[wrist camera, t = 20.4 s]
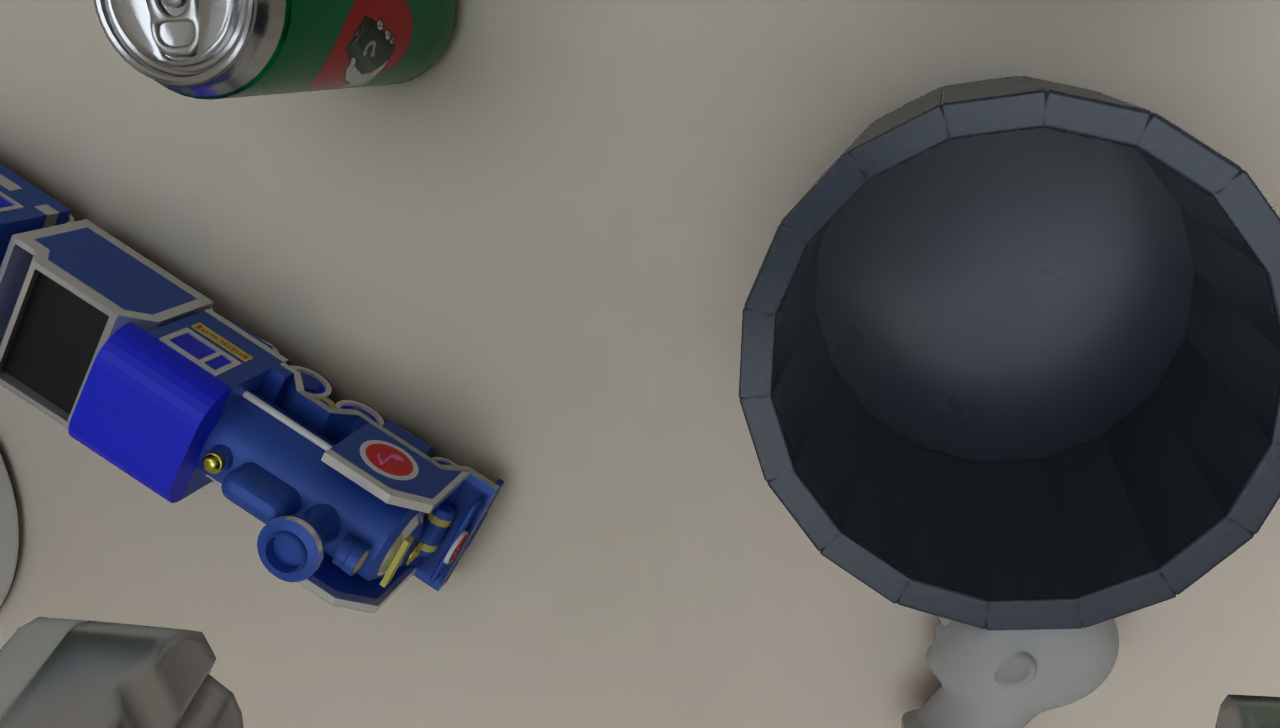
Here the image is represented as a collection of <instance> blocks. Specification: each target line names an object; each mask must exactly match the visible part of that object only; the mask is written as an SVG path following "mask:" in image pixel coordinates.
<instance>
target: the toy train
mask: <svg viewBox="0 0 1280 728" xmlns="http://www.w3.org/2000/svg"><path fill="white" fill-rule="evenodd" d="M70 213H71V209H69V208H67V207H66V206H64V205H63V204H61V203H60V202H58V201H57V200H55V199H54V198H52V197H51V196H49V195H47V194H46V193H44V192H43V191H41V190H40V189H38V188H37V187H35V186H34V185H32V184H30V183H29V182H27V181H26V180H24V179H23V178H21V177H20V176H18V175H17V174H15V173H14V172H12V171H10V170H9V169H7V168H6V167H4V166H3V165H1V164H0V385H2V386H3V387H5V388H6V389H8V390H10V391H11V392H13V393H14V394H16V395H17V396H19V397H20V398H22V399H23V400H25V401H26V402H28V403H30V404H31V405H33V406H34V407H36V408H37V409H39V410H40V411H42V412H43V413H45V414H46V415H48V416H49V417H51V418H53V419H54V420H56V421H57V422H59V423H60V424H62V425H63V426H65V427H66V428H68V430H69V434H70V435H71V437H73V438H74V439H76V440H77V441H79V442H80V443H82V444H83V445H85V446H86V447H88V448H89V449H91V450H92V451H94V452H95V453H97V454H98V455H100V456H101V457H103V458H104V459H106V460H107V461H109V462H110V463H112V464H113V465H115V466H116V467H118V468H119V469H121V470H123V471H124V472H126V473H127V474H129V475H130V476H132V477H133V478H135V479H136V480H138V481H139V482H141V483H142V484H144V485H145V486H147V487H148V488H150V489H151V490H153V491H154V492H156V493H157V494H159V495H160V496H162V497H163V498H165V499H166V500H168V501H169V502H171V503H175V502H178V501H180V500H182V499H183V498H185V497H187V496H188V495H190V494H192V493H193V492H195V491H197V490H198V489H200V488H201V487H203V486H205V485H206V484H208V483H210V482H212V481H214V482H216V483H217V484H219V485H220V486H222V492H223V494H224V496H225V497H226V498H227V499H229V500H230V501H232V502H233V503H235V504H236V505H238V506H239V507H241V508H242V509H244V510H245V511H247V512H248V513H250V514H251V515H253V516H254V517H256V518H257V519H259V520H260V521H262V522H263V523H265V524H267V525H266V526H264V527H263V529H262V530H261V532H260V534H259V537H258V542H257V546H258V553H259V556H260V559H261V561H262V563H263V564H264V566H265V567H266V568H267V569H268V571H269V572H270V573H272V574H273V575H274V576H276V577H277V578H279V579H281V580H284V581H288V582H297V583H299V584H300V585H302V586H303V587H305V588H306V589H308V590H309V591H311V592H312V593H314V594H315V595H317V596H318V597H320V598H321V599H323V600H324V601H326V602H327V603H329V604H330V605H332V606H337V607H342V608H347V609H353V610H358V611H363V612H368V613H375V612H376V611H377V610H378V609H379V608H380V607H381V606H382V605H383V604H384V603H385V602H386V601H387V600H388V599H389V598H390V597H391V596H392V595H393V594H394V593H395V592H396V591H397V590H398V589H399V588H400V587H401V586H402V585H403V584H404V583H405V581H406V580H407V579H408V578H409V577H410V576H411V575H412V574H413V575H414V576H416V577H417V578H419V579H420V580H422V581H423V582H425V583H426V584H428V585H429V586H431V587H432V588H434V589H435V590H437V591H439V590H440V589H441V587H442V586H443V585H444V584H445V583H446V582H447V580H448V579H449V577H450V575H451V573H452V572H453V570H454V568H455V566H456V565H457V563H458V561H459V559H460V558H461V556H462V554H463V553H464V551H465V550H466V549H467V547H468V546H469V544H470V543H471V541H472V539H473V538H474V536H475V534H476V532H477V531H478V529H479V527H480V525H481V524H482V522H483V520H484V518H485V517H486V515H487V511H488V509H489V507H490V506H491V504H492V502H493V501H494V499H495V497H496V495H497V494H498V492H499V490H500V488H501V487H502V485H503V483H504V481H502V480H500V479H499V480H498V481H497V482H496V483H493V482H492V481H490V480H489V479H487V478H486V477H484V476H483V475H481V474H480V473H478V472H476V471H475V470H473V469H472V468H470V467H468V466H458V465H457V464H455V463H454V462H452V461H450V460H448V459H445V458H442V457H432V458H430V457H429V456H430V454H431V452H432V449H433V447H431V446H430V445H428V444H427V443H425V442H424V441H422V440H420V439H419V438H417V437H416V436H414V435H413V434H411V433H410V432H408V431H407V430H405V429H403V428H402V427H400V426H399V425H397V424H396V423H394V422H393V421H391V420H389V421H387V422H386V423H384V420H383V419H382V417H381V416H380V415H379V414H378V413H377V412H376V411H375V410H373V409H372V408H370V407H369V406H367V405H365V404H363V403H360V402H357V401H353V400H341V401H338V402H337V403H336V404H334V402H333V401H332V400H330V399H329V396H330V394H331V392H332V388H331V386H330V384H329V382H328V381H327V380H326V379H325V378H324V377H322V376H321V375H320V374H318V373H316V372H315V371H312V370H310V369H307V368H304V367H301V366H289V365H287V362H288V359H286V358H285V357H283V356H282V355H280V354H279V351H278V350H277V349H276V347H274V346H273V345H272V344H270V343H269V342H267V341H265V340H262V339H260V338H258V337H257V336H255V335H254V334H252V333H250V332H249V331H247V330H246V329H244V328H243V327H241V326H240V325H238V324H237V323H235V322H233V323H231V322H229V321H228V320H226V319H225V318H223V317H222V316H220V315H219V314H217V313H216V312H214V311H213V308H212V305H213V303H214V302H213V301H211V300H210V299H208V298H207V297H205V296H204V295H202V294H201V293H199V292H198V291H196V290H194V289H193V288H191V287H190V286H188V285H187V284H185V283H184V282H182V281H181V280H179V279H177V278H176V277H174V276H173V275H171V274H170V273H168V272H167V271H165V270H164V269H162V268H161V267H159V266H157V265H156V264H154V263H153V262H151V261H150V260H148V259H147V258H145V257H144V256H142V255H140V254H139V253H137V252H136V251H134V250H133V249H131V248H130V247H128V246H127V245H125V244H124V243H122V242H120V241H119V240H117V239H116V238H114V237H113V236H111V235H110V234H108V233H107V232H105V231H103V230H102V229H100V228H99V227H97V226H96V225H94V224H93V223H91V222H90V221H88V220H87V219H84V220H79V221H75V222H74V218H73V216H72V215H71V214H70Z"/></svg>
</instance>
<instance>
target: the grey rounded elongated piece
mask: <svg viewBox="0 0 1280 728" xmlns="http://www.w3.org/2000/svg"><path fill="white" fill-rule="evenodd" d="M938 618H939V620H940V621H939V623H938V624H937V625H936V629H935V632H936V635H935V637H934V640H933V644H932V645H931V646H930V647H929V648H928V650H927V652H926V661H927V663H928V665H929V667H930V668H931V670H932V671H933V673H934V674H935V675H936V677H937V678H938V679H939V681H940V682H941V684H942V686H941V687H940V688H939V689H938V690H937V691H936V692H935V693H934V694H933V695H932V697H931V698H930V699H929V700H928V701H927V703H926V704H925V705H924V706H923V707H922V708H921V709H917V710H912V711H908V712H906V713H905V714H904V715H903V716H902V728H1023V727H1024V726H1025V725H1026V724H1027V723H1028V722H1029V721H1030V720H1031V719H1032V718H1033V717H1034V716H1036V715H1037V714H1039V713H1041V712H1043V711H1046V710H1050V709H1053V708H1057V707H1061V706H1065V705H1068V704H1070V703H1073V702H1075V701H1078V700H1080V699H1082V698H1083V697H1085V696H1087V695H1088V694H1090V693H1091V692H1093V691H1094V690H1095V689H1096V688H1098V687H1099V686H1100V685H1101V684H1102V683H1103V682H1104V680H1105V679H1106V678H1107V676H1108V675H1109V673H1110V672H1111V670H1112V668H1113V666H1114V663H1115V661H1116V658H1117V654H1118V648H1119V636H1118V630H1117V627H1116V623H1115V621H1114V618H1113V619H1110V620H1107V621H1104V622H1101V623H1098V624H1095V625H1092V626H1089V627H1086V628H1084V627H1083V628H1081V629H1039V630H992V631H988V630H987V629H986V628H985V629H981V628H978V627H974V626H971V625H967V624H964V623H960V622H957V621H953V620H950V619H947V618H943V617H940V616H938Z"/></svg>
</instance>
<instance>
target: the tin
mask: <svg viewBox="0 0 1280 728" xmlns="http://www.w3.org/2000/svg"><path fill="white" fill-rule="evenodd" d="M739 397H740V403H741V406H742V409H743V412H744V416H745V419H746V422H747V425H748V428H749V431H750V434H751V438H752V441H753V444H754V447H755V450H756V453H757V456H758V460H759V463H760V466H761V469H762V472H763V475H764V479H765V480H766V481H767V483H768V485H769V487H770V488H771V489H772V490H773V492H774V493H775V494H776V496H777V497H778V498H779V500H780V501H781V502H782V504H783V505H784V506H785V508H786V509H787V510H788V511H789V513H790V514H791V515H792V517H793V518H794V519H795V521H796V522H797V523H798V525H799V526H800V527H801V529H802V530H803V531H804V533H805V534H806V535H807V536H808V538H809V539H810V540H811V542H812V543H813V544H814V546H815V547H816V548H817V550H819V551H821V552H820V553H821V554H822V555H823V556H825V557H826V558H828V559H829V560H831V561H832V562H834V563H835V564H836V565H838V566H839V567H841V568H842V569H844V570H845V571H847V572H848V573H850V574H851V575H853V576H854V577H856V578H857V579H859V580H860V581H862V582H863V583H865V584H866V585H868V586H869V587H870V588H872V589H873V590H875V591H876V592H878V593H879V594H881V595H882V596H884V597H885V598H887V599H888V600H890V601H891V602H893V603H897V604H899V605H902V606H905V607H909V608H912V609H916V610H919V611H923V612H926V613H929V614H933V615H936V616H940V617H943V618H947V619H950V620H953V621H957V622H960V623H964V624H967V625H971V626H974V627H978V628H981V629H985V628H986V629H987V630H988V631H992V630H1039V629H1081V628H1083V627H1084V628H1086V627H1089V626H1092V625H1095V624H1098V623H1101V622H1104V621H1107V620H1110V619H1113V618H1116V617H1119V616H1121V615H1124V614H1127V613H1130V612H1133V611H1136V610H1139V609H1142V608H1145V607H1148V606H1151V605H1154V604H1156V603H1159V602H1162V601H1165V600H1168V599H1171V598H1174V597H1176V594H1177V595H1178V594H1180V593H1181V592H1182V591H1184V590H1185V589H1186V588H1188V587H1189V586H1190V585H1192V584H1193V583H1194V582H1195V581H1197V580H1198V579H1199V578H1201V577H1202V576H1203V575H1205V574H1206V573H1207V572H1209V571H1210V570H1211V569H1212V568H1214V567H1215V566H1216V565H1218V564H1219V563H1220V562H1222V561H1223V560H1224V559H1225V558H1227V557H1228V556H1229V555H1231V554H1232V553H1233V552H1235V551H1236V550H1237V549H1238V548H1240V547H1241V546H1242V545H1244V544H1245V543H1246V542H1248V541H1249V540H1250V539H1251V538H1253V536H1254V534H1256V533H1257V532H1258V531H1259V529H1260V528H1261V526H1262V525H1263V523H1264V521H1265V520H1266V518H1267V517H1268V515H1269V513H1270V512H1271V510H1272V509H1273V507H1274V506H1275V504H1276V502H1277V501H1278V499H1279V498H1280V218H1279V217H1278V215H1277V214H1276V212H1275V211H1274V210H1273V208H1272V207H1271V205H1270V204H1269V203H1268V201H1267V200H1266V198H1265V197H1264V196H1263V194H1262V193H1261V191H1260V190H1259V189H1258V187H1257V186H1256V184H1255V183H1254V182H1253V180H1252V179H1251V177H1250V176H1249V175H1248V173H1247V172H1246V171H1244V170H1242V169H1241V167H1240V166H1238V165H1237V164H1235V163H1234V162H1232V161H1231V160H1229V159H1227V158H1226V157H1224V156H1223V155H1221V154H1220V153H1218V152H1216V151H1215V150H1213V149H1212V148H1210V147H1209V146H1207V145H1205V144H1204V143H1202V142H1201V141H1199V140H1198V139H1196V138H1194V137H1193V136H1191V135H1190V134H1188V133H1187V132H1185V131H1183V130H1182V129H1180V128H1179V127H1177V126H1176V125H1174V124H1172V123H1171V122H1169V121H1168V120H1166V119H1165V118H1163V117H1161V116H1160V115H1158V114H1156V113H1153V112H1151V111H1149V110H1146V109H1143V108H1141V107H1138V106H1135V105H1132V104H1130V103H1127V102H1124V101H1121V100H1118V99H1116V98H1113V97H1110V96H1107V95H1105V94H1102V93H1099V92H1096V91H1093V90H1088V89H1083V88H1078V87H1073V86H1069V85H1064V84H1059V83H1054V82H1050V81H1045V80H1040V79H1035V78H1030V77H1026V76H1021V77H1020V76H1012V77H1005V78H998V79H988V80H982V81H976V82H970V83H962V84H955V85H948V86H944V87H943V88H942V87H940V88H938V89H936V90H934V91H932V92H930V93H928V94H926V95H924V96H922V97H920V98H918V99H916V100H914V101H912V102H910V103H907V104H906V105H904V106H902V107H901V108H899V109H897V110H895V111H893V112H891V113H889V114H887V115H885V116H883V117H881V118H879V119H878V120H876V121H874V123H871V124H870V126H869V127H868V128H867V129H866V130H865V131H864V132H863V133H862V134H861V135H860V136H859V137H858V138H857V139H856V140H855V141H854V142H853V144H852V145H851V146H850V147H849V148H848V149H847V150H846V151H845V152H844V153H843V154H842V155H841V156H840V157H839V158H838V159H837V160H836V162H835V163H834V164H833V165H832V166H831V167H830V168H829V169H828V170H827V171H826V172H825V173H824V174H823V175H822V176H821V178H820V179H819V180H818V181H817V182H816V183H815V184H814V185H813V186H812V188H811V189H810V190H809V191H808V192H807V193H806V194H805V195H804V196H803V198H802V199H801V200H800V201H799V202H798V203H797V204H796V205H795V206H794V208H793V209H792V210H791V211H790V212H789V213H788V214H787V215H786V216H785V218H784V219H783V220H782V221H781V224H780V225H779V226H778V228H777V231H776V233H775V235H774V238H773V240H772V242H771V245H770V247H769V249H768V252H767V254H766V256H765V259H764V261H763V263H762V266H761V268H760V270H759V273H758V275H757V277H756V280H755V282H754V284H753V287H752V289H751V291H750V294H749V296H748V298H747V300H746V303H745V308H744V309H743V320H742V341H741V361H740V382H739Z"/></svg>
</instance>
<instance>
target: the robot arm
mask: <svg viewBox="0 0 1280 728" xmlns="http://www.w3.org/2000/svg"><path fill="white" fill-rule="evenodd" d="M18 551H19V523H18V513H17V506H16V501H15V496H14V492H13V488H12V484H11V481H10V477H9V474H8V472H7V469H6V466H5V463H4V461H3V458H2V456H1V454H0V607H1V605H2V603H3V602H4V600H5V598H6V596H7V594H8V592H9V589H10V587H11V584H12V581H13V578H14V574H15V570H16V565H17V559H18ZM215 661H216V657H215V655H214V653H213V651H212V649H211V647H210V646H209V644H208V642H207V640H206V638H205V636H204V635H203V633H202V632H198V631H191V630H183V629H173V628H162V627H151V626H141V625H130V624H119V623H109V622H98V621H84V620H71V619H58V618H46V617H38V618H36V619H35V620H33V621H31V622H29V623H27V624H25V625H23V626H22V627H20V628H18V629H17V631H16V632H15V633H14V634H13V636H12V637H11V638H10V639H9V640H8V642H7V643H6V644H5V645H4V647H3V648H2V649H1V650H0V728H243V720H242V712H241V710H240V708H239V706H238V703H237V701H236V699H235V697H234V695H233V693H232V692H231V691H229V690H228V689H227V688H226V687H224V686H223V685H222V684H220V683H219V682H218V681H217V680H215V679H214V678H213V677H212V676H210V675H209V673H210V671H211V669H212V667H213V665H214V663H215ZM1215 728H1280V697H1266V696H1247V695H1227V697H1226V698H1225V700H1224V701H1223V702H1222V704H1221V705H1220V710H1219V714H1218V718H1217V722H1216V726H1215Z"/></svg>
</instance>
